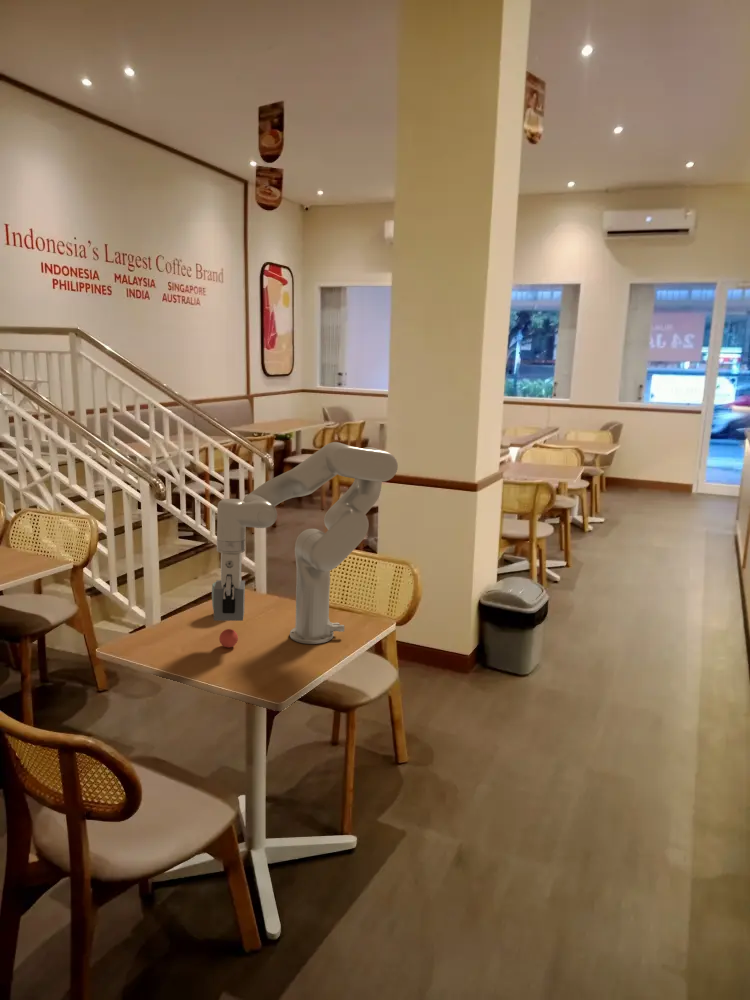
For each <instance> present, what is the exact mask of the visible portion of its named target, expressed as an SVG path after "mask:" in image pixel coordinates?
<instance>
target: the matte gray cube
mask: <svg viewBox="0 0 750 1000" xmlns="http://www.w3.org/2000/svg"><path fill="white" fill-rule="evenodd" d="M215 582H216V584H215V588H214V610H213V621H220V622H221V621H222V622H223V621H224V622H225V621H231V622H232V621H233V622H234V621H235V622H236V621H240V622H241V621H242V622H243V621H244V614H245V602H246V601H245V600H246V599H245V596H246V595H245V594H246V593H245V591H246V580H241V586H240V588H239V589H237V588H235V589H234V598H235V613H223V612H222V610H223V596H224V589H222V587H221V579H219V580H218V579H216V581H215ZM231 587H233V586H231ZM231 591H232V590H231Z"/></svg>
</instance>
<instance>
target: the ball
mask: <svg viewBox="0 0 750 1000" xmlns="http://www.w3.org/2000/svg"><path fill="white" fill-rule="evenodd" d="M238 641H239V635H238V633H237V632H236V631H235V630H234V629H231V628H226V629H224V630H222V632H220V634H219V643H220V644H221V646H222V647H224V648H233V647H234V646H235V645H236V644H237V643H238Z"/></svg>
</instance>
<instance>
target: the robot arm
mask: <svg viewBox="0 0 750 1000" xmlns="http://www.w3.org/2000/svg"><path fill="white" fill-rule="evenodd" d="M398 468H399V467H398V461H397V459H396V457H395V456H394V455H393V454H392V453H390V452H388V451H386V450H383V449H379V448H376V447H371V446H368V447H367V446H366V447H363V448H361V447H357V446H353V445H352V446H351V445H348V444H345V443H343V442H342V443H341V442H339V441H338V442H337V441H333V442H328V443H327V444H325V445H324V446H323V447H321V448H320V449H318V450H317V451H316V452H314V453H312V454H311V455H310V456H308V457H307V458H306V459H304V460H303V461H302V462H300V463H298V465H296V466H295V467H293V468H292V469H290V470H287V471H286V472H283V473H281V474H279V475H277V476H275V477H273V478H271V479H269V480H267V481H265V482H264V483H263V484H260V486H258V487H257V488H255V489H253V490H252V491H251V492H250V493H248V494H247V495H246V496H245V497H244V498H243V499H239V498H224V499H223V498H222V499H221V500H220V501H218V503H217V507H216V508H217V512H216V513H217V515H216V517H217V518H216V519H217V520H216V523H217V525H216V552H217V553H219V554H220V580H221V587H222V589H224V596H223V610H222V612H223V613H235V598H234V589H235V588H237V589H239V588H240V586H241V581H242V561H243V560H242V556H243V555H242V553H244V552H246V535H247V533H246V531H247V528H253V529H255V528H256V529H266V528H270V527H271V526H272V525H274V524H275V523H276V521H277V519H278V510H277V509H276V506H277V505H279V504H280V503H283V502H284V501H287V500H290V499H292V498H299V497H305V496H309V495H311V494H313V493H314V492H316V491H317V490H318V489H319V488H321V487H322V486H323V485H325V484H326V483H327V482H329V481H330V480H332V479H334V477H336V476H341V477H344V478H350V479H354V480H353V483H352V484H351V485H350V486H349V488H348V489H347V490H346V492H344V493H343V494H342V495H341V497H340V498H338V500H337V501H336V502H335V503H334V504H333V505H331V507H330V508H329V509H328V510H327V512H326V513H325V514H324V518H323V523H324V526H325V528H326V529H327V531H326V532H324V531H323V530H320V529H319V528H318V529H317V528H307V529H305V530H303V531H302V532H301V533H299V535H297V538H296V540H295V545H294V556H295V566H296V567H295V568H296V583H295V584H296V585H295V586H296V587H295V588H296V589H295V590H296V591H295V627H293V628H292V629H291V630H290V632H289V637H290V639H291V640H293V641H294V642H296V643H300V644H305V645H315V644H316V645H319V644H324V643H326V642H329V641H331V640H332V639H333V638H334V633H335V632H338V633H339V632H342V633H343V632H345V624H340V622H332V621H330V617H329V616H330V615H329V614H330V592H331V591H330V588H331V586H330V585H331V571H332V570H334V569H336V568H337V567H338V566H340V564H342V563H343V561H345V560H346V559H347V557H348V556H350V554H351V553H352V552H353V551H355V549H356V548H357V547H358V546H359V545H360V544H362V543H361V542H362V541H363V540H364V539H365V538H366V536H367V534H368V532H369V525H370V524H369V519H368V516H367V513H368V512H370V510H371V509H372V507H373V506H375V504H376V503H377V501H378V500H379V497H380V495H381V491H382V484H383V483H384V482H387V481H390V480H391V479H393V478H394V476H395V475H396V474H397V471H398ZM382 482H383V483H382ZM246 527H247V528H246ZM231 586H233V587H231ZM231 590H232V591H231Z"/></svg>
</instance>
